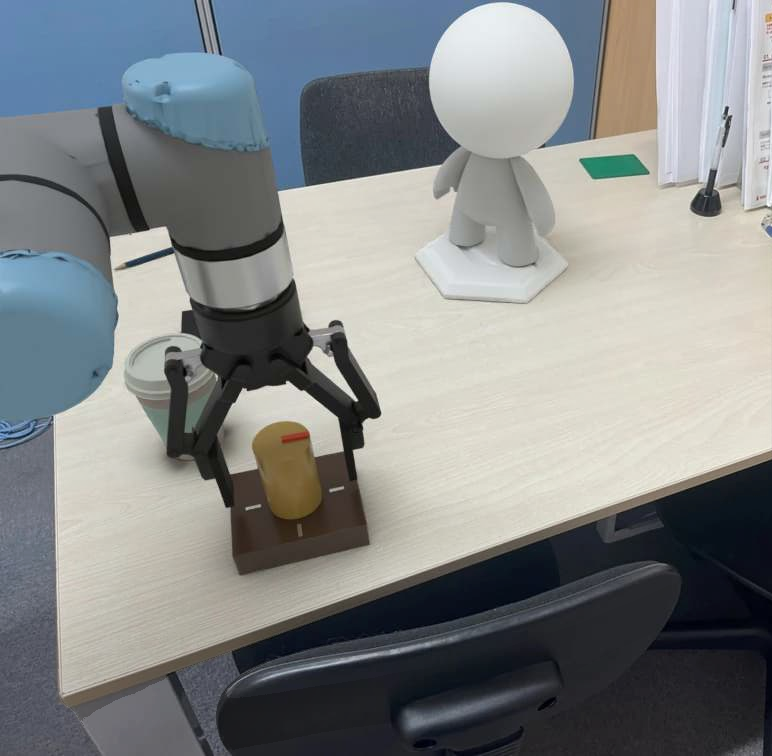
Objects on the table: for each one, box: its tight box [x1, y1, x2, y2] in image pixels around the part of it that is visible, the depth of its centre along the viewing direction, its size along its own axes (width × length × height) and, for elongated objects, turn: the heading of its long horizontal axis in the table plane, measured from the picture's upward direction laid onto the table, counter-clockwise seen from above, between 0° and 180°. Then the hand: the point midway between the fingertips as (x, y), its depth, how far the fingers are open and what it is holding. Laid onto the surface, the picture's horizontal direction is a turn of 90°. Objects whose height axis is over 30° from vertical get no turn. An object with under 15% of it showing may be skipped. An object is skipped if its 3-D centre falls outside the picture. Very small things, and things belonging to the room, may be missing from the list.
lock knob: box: [251, 420, 322, 519], centre depth 65 cm, size 5×5×8 cm
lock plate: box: [229, 450, 371, 576], centre depth 69 cm, size 12×10×3 cm
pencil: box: [113, 246, 174, 271], centre depth 105 cm, size 1×1×15 cm
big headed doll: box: [414, 1, 575, 304], centre depth 95 cm, size 20×23×35 cm
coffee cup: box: [123, 332, 225, 461], centre depth 73 cm, size 8×9×12 cm
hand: (291, 482), depth 67 cm, fingers open, 10 cm apart
